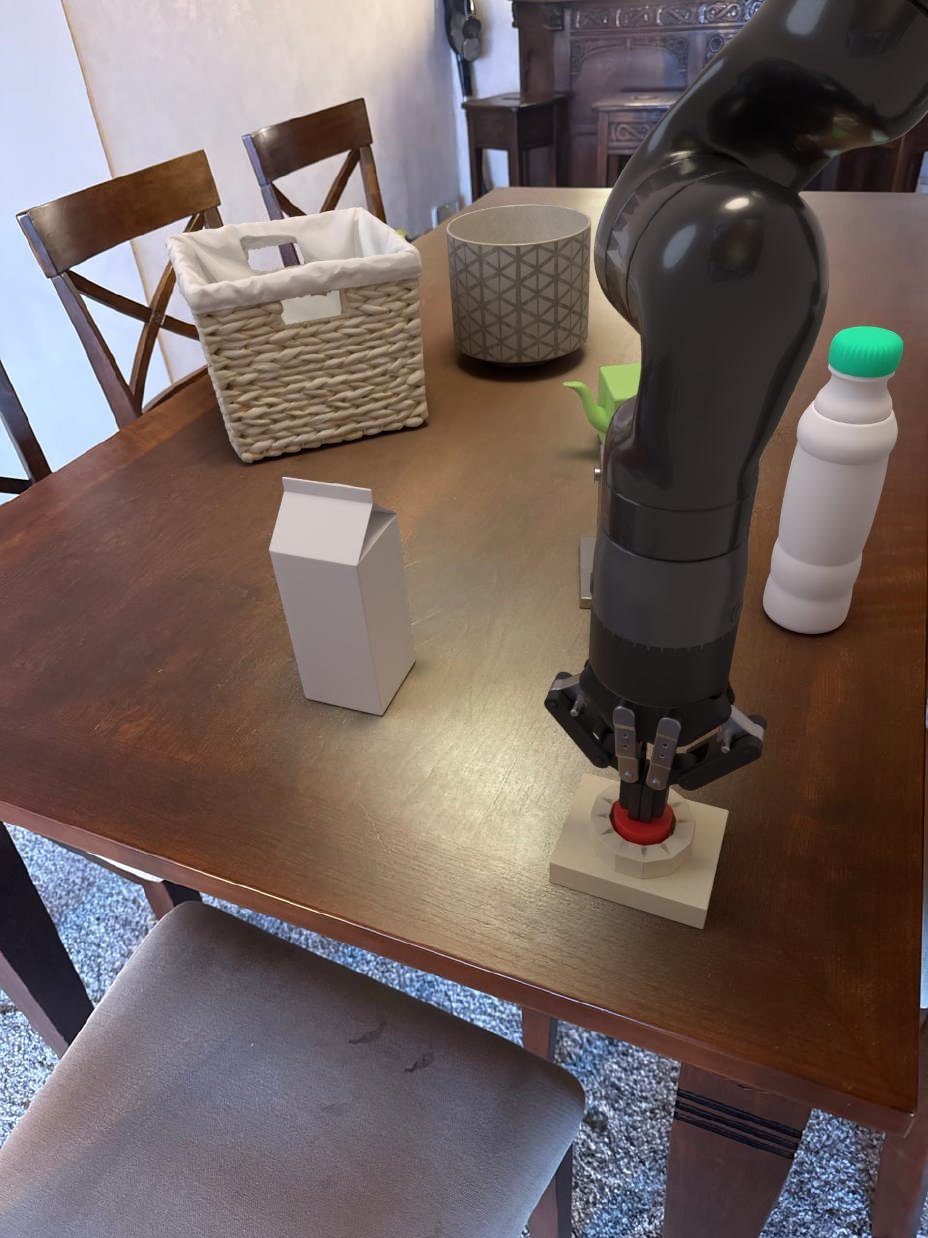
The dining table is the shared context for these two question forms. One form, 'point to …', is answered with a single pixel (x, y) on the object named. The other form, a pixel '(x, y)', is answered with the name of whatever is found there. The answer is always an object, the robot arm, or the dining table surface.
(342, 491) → the milk carton
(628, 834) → the button
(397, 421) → the basket
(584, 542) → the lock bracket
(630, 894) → the box
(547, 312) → the planter
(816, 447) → the water bottle
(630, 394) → the teapot
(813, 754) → the dining table surface
